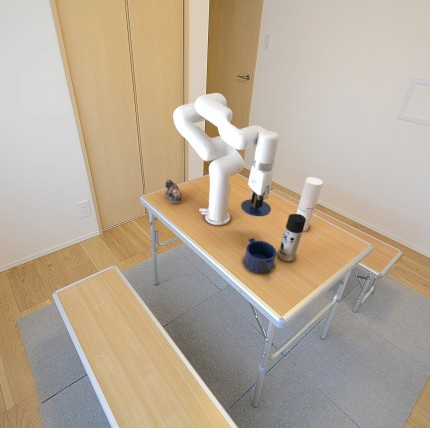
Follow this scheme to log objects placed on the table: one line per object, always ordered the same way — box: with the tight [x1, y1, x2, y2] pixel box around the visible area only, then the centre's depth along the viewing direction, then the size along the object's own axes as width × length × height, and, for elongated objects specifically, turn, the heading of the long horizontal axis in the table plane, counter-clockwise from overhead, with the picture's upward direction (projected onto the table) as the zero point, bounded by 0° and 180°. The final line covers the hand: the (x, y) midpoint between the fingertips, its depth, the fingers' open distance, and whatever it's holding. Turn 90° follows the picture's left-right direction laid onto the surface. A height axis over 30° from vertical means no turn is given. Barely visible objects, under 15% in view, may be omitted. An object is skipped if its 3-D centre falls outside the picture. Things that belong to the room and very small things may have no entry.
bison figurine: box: [164, 179, 183, 204], centre depth 147 cm, size 12×7×10 cm, turn 37°
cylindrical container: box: [295, 176, 324, 232], centre depth 129 cm, size 7×7×25 cm
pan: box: [244, 237, 277, 274], centre depth 112 cm, size 12×17×7 cm
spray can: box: [278, 213, 306, 262], centre depth 112 cm, size 7×7×20 cm
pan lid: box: [240, 194, 272, 217], centre depth 116 cm, size 13×13×7 cm
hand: (256, 204), depth 117 cm, fingers closed on pan lid, 2 cm apart
